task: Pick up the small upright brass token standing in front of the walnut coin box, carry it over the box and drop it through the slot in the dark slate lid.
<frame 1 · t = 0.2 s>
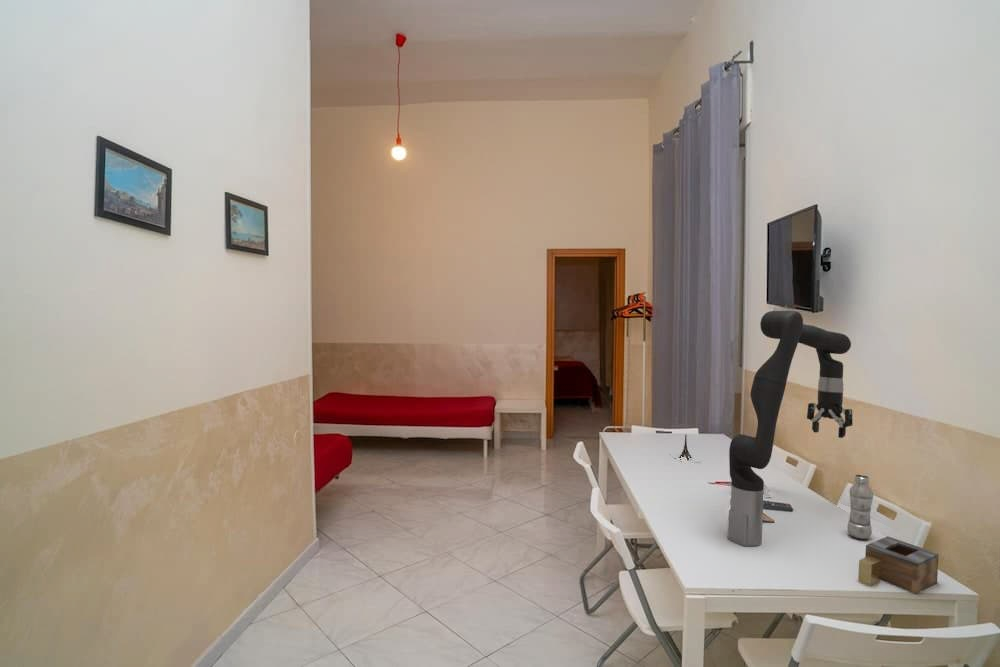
hand: (828, 434, 183), 29 cm above the table, fingers open, 8 cm apart
token: (869, 581, 139), on the table
plastic bottle: (859, 537, 166), on the table
eiffel tower figurine: (684, 459, 254), on the table
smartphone: (754, 515, 185), on the table
coin box: (900, 577, 141), on the table
teacup and saucer: (756, 493, 207), on the table
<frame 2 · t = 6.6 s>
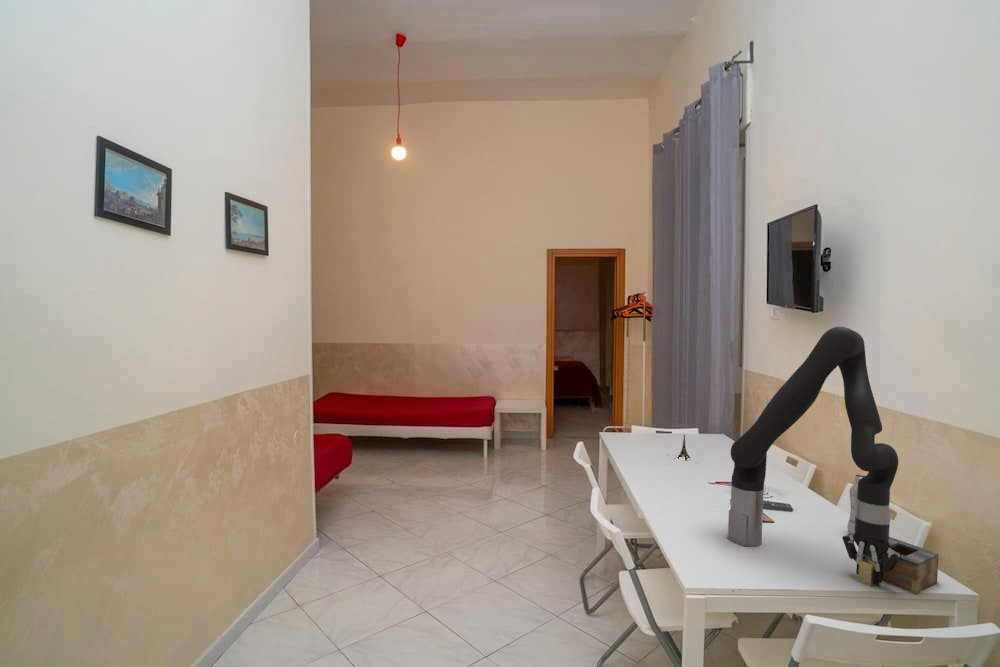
hand: (869, 580, 139), 0 cm above the table, fingers closed on token, 3 cm apart
token: (869, 581, 139), on the table, touching gripper
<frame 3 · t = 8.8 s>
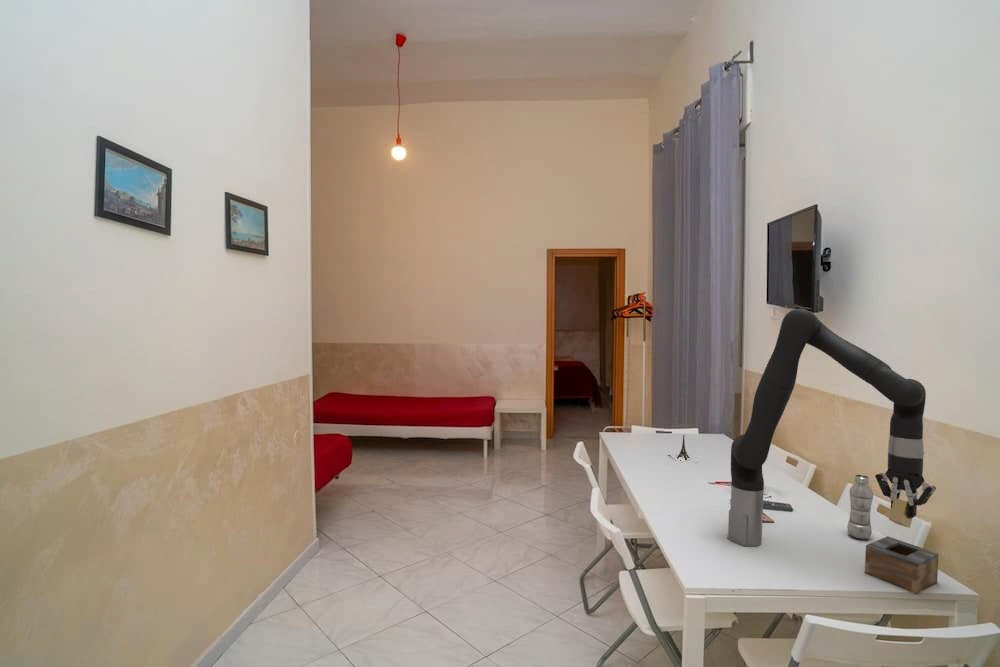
hand: (903, 515, 140), 18 cm above the table, fingers closed on token, 2 cm apart
token: (899, 523, 139), point 16 cm above the table, tilted 25°, touching gripper
when the fingers open (9 cm above the table, at t = 10.6 s): token drops 5 cm and tips over, resting on coin box.
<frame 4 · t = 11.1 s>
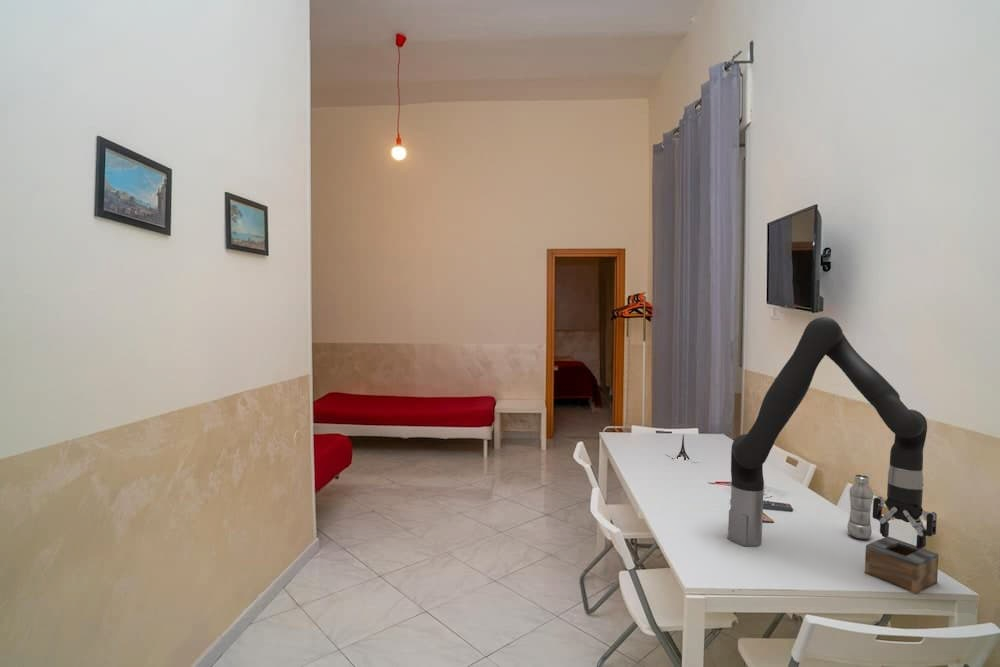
hand: (902, 542, 141), 10 cm above the table, fingers open, 7 cm apart
token: (894, 570, 139), point 3 cm above the table, tilted 90°, touching coin box
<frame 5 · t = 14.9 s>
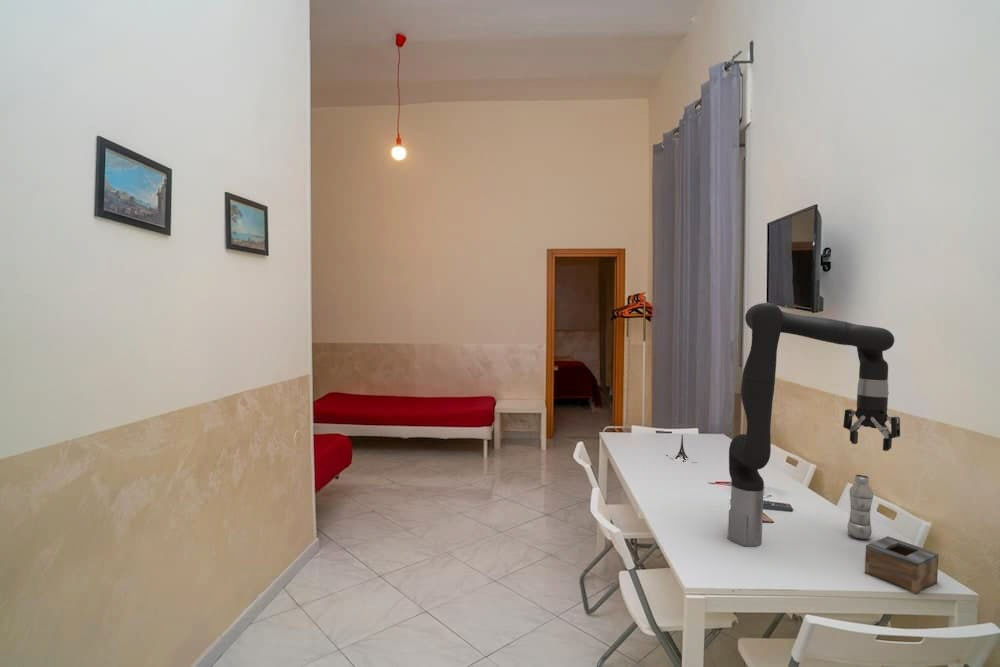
hand: (869, 447, 155), 32 cm above the table, fingers open, 8 cm apart
at the end: token inside the target area on the coin box (3.9 cm from its centre), point 3.1 cm above the coin box's base; the gripper is holding nothing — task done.
